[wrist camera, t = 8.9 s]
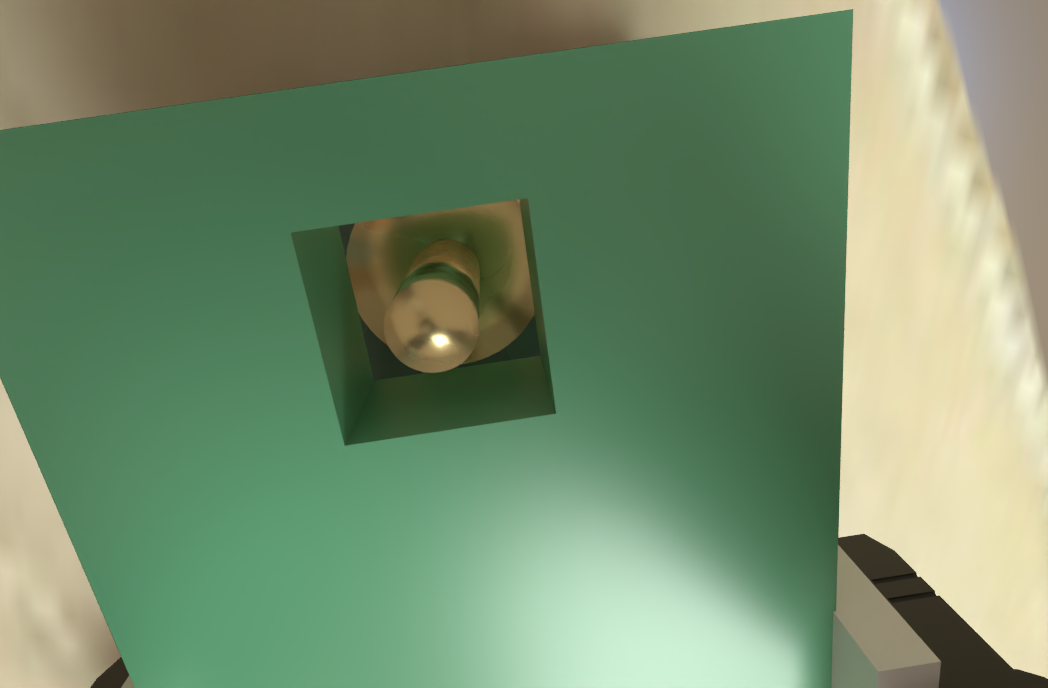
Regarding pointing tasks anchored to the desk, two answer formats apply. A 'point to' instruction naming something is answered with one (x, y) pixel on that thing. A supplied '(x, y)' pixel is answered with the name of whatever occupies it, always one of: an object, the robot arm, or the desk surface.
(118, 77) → the desk surface
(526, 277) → the chassis
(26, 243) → the board
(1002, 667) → the robot arm
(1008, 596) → the desk surface
